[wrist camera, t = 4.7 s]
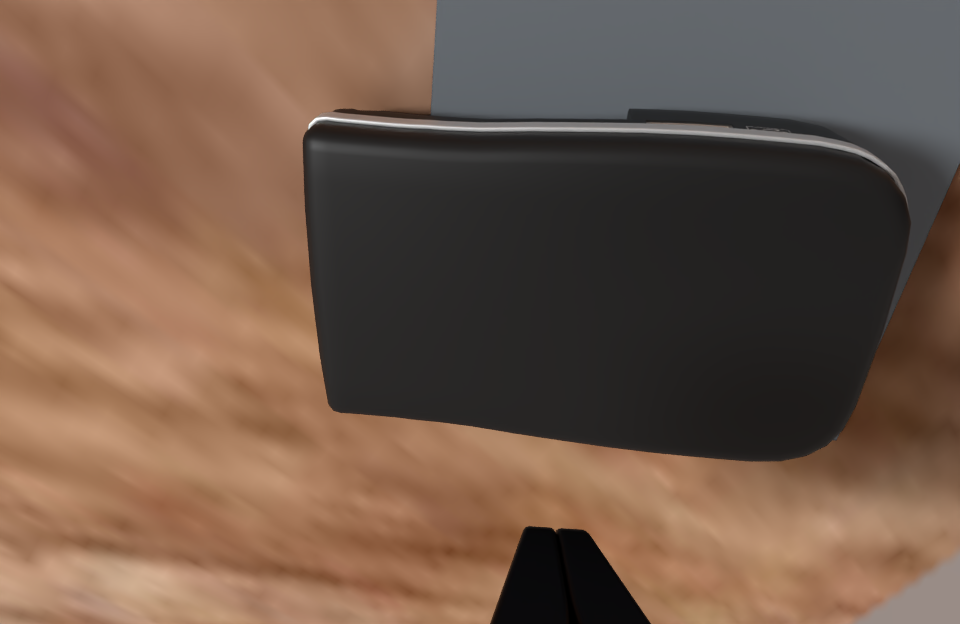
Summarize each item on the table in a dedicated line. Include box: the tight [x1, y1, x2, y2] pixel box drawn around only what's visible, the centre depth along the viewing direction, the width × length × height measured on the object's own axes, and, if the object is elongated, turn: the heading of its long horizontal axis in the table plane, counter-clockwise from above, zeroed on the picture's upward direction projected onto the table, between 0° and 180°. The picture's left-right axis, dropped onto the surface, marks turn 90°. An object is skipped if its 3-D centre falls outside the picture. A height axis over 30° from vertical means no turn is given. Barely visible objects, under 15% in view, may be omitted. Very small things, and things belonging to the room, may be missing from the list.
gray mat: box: [431, 0, 960, 440], centre depth 16 cm, size 12×16×1 cm
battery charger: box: [303, 109, 911, 461], centre depth 16 cm, size 7×4×11 cm
